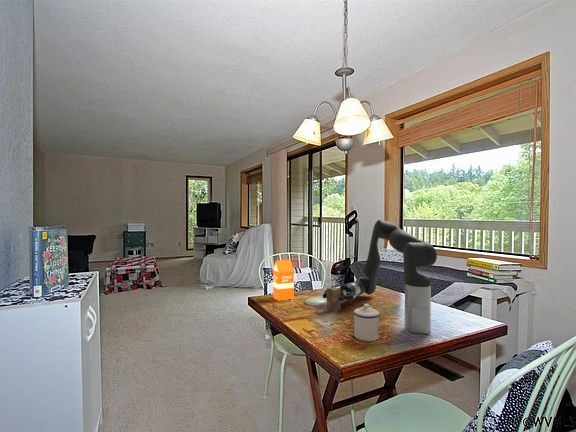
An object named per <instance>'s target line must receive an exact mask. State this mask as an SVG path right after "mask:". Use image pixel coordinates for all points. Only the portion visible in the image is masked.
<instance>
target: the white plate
mask: <svg viewBox="0 0 576 432" xmlns="http://www.w3.org/2000/svg"><path fill="white" fill-rule="evenodd" d="M305 305H308V306H314V307H321V306H327V298H323V297H318V296H314V297H312V296H311V297H308V298H305Z"/></svg>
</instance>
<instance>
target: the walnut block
mask: <svg viewBox="0 0 576 432" xmlns="http://www.w3.org/2000/svg"><path fill="white" fill-rule="evenodd" d="M326 290H327V298H326V299H327V304H326V311H329V312H334V313H336V312H339V311H341V302H339V296H340V287H335V286H330V287H326Z"/></svg>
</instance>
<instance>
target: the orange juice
mask: <svg viewBox="0 0 576 432" xmlns="http://www.w3.org/2000/svg"><path fill="white" fill-rule="evenodd" d="M294 272H295V271H294V268H293V263H292V260H291V259H281V260H280V259H279V260H275V261H274V265H273V269H272V294H273V295H272V298H273V299H275V300H276V301H277V300H278V301H277V302H282V301H289V300H288V299H291V300H295V299H294V298H295V297H294V295H295V292H294V291H295V290H294V289H295V279H294V278H295V276H294V275H295V273H294ZM281 300H282V301H281Z"/></svg>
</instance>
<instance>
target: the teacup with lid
mask: <svg viewBox="0 0 576 432" xmlns="http://www.w3.org/2000/svg"><path fill="white" fill-rule="evenodd" d="M380 315H381V314H380V311H378V310H377V309H375V308H372V307H371V306H370V304H368V303H364V304H363V306H361V307H358V308H355V309H354V311H353V317H354V318H353V319H354V320H353V321H354V322H353V323H354V324H353V325H354V326H353V327H354V328H353V329H354V331H353V332H354V333H353V334H354V335H353V336H354V337H355V338H356V339H357V340H359V341H364V342H375V341H377V340H379V338H380Z"/></svg>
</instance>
